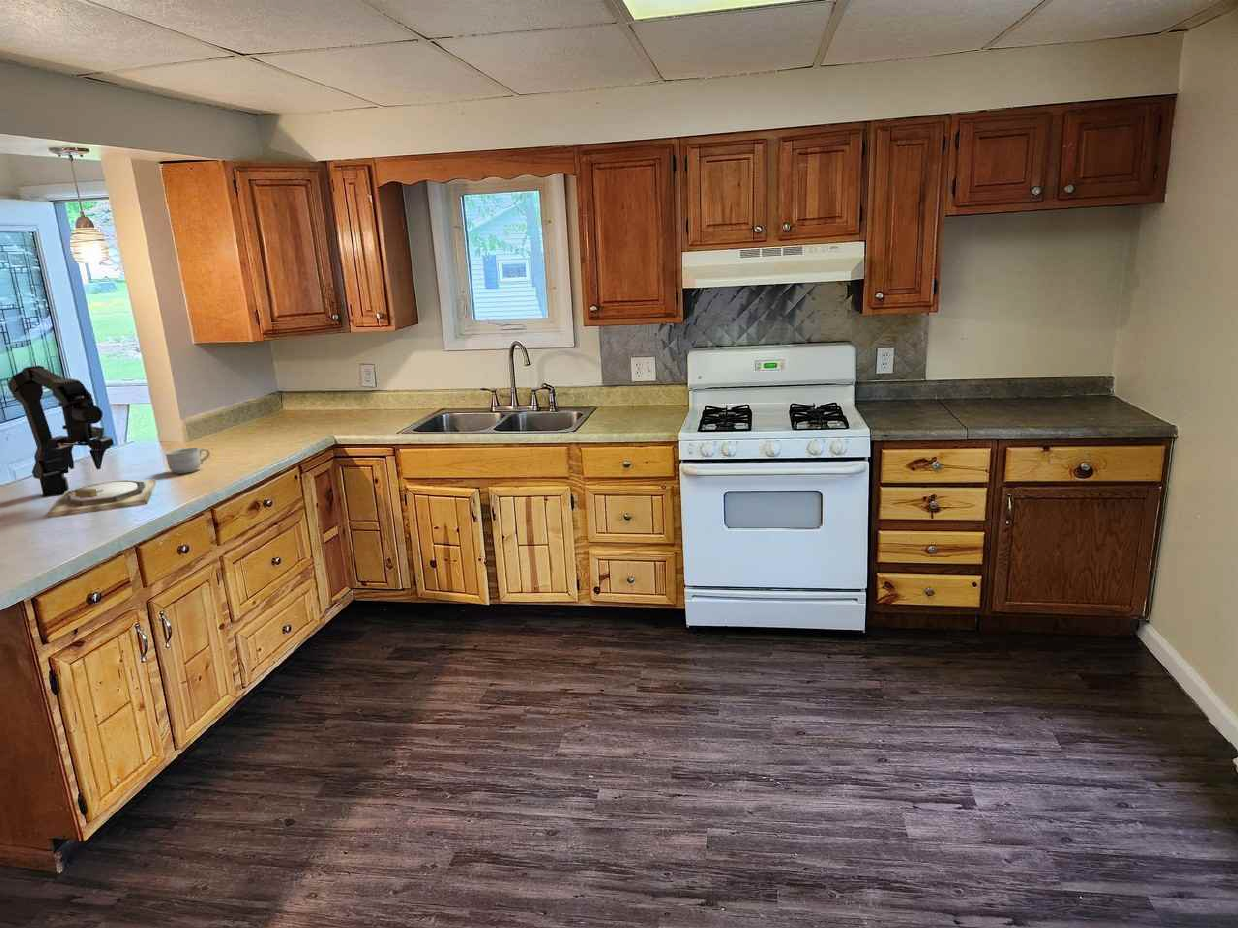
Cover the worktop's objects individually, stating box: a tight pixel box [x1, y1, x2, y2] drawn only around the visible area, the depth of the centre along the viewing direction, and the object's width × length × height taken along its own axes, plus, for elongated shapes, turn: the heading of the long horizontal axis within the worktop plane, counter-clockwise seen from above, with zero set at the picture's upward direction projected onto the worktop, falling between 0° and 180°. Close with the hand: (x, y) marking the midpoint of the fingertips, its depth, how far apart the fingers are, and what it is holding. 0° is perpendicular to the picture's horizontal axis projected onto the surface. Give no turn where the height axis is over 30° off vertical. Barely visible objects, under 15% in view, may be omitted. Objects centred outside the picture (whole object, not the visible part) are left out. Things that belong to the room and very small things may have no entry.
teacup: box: [165, 447, 211, 474], centre depth 289 cm, size 14×11×8 cm
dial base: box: [47, 479, 157, 518], centre depth 257 cm, size 26×26×3 cm
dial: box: [69, 481, 138, 500], centre depth 257 cm, size 19×19×4 cm
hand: (85, 468), depth 254 cm, fingers open, 9 cm apart
